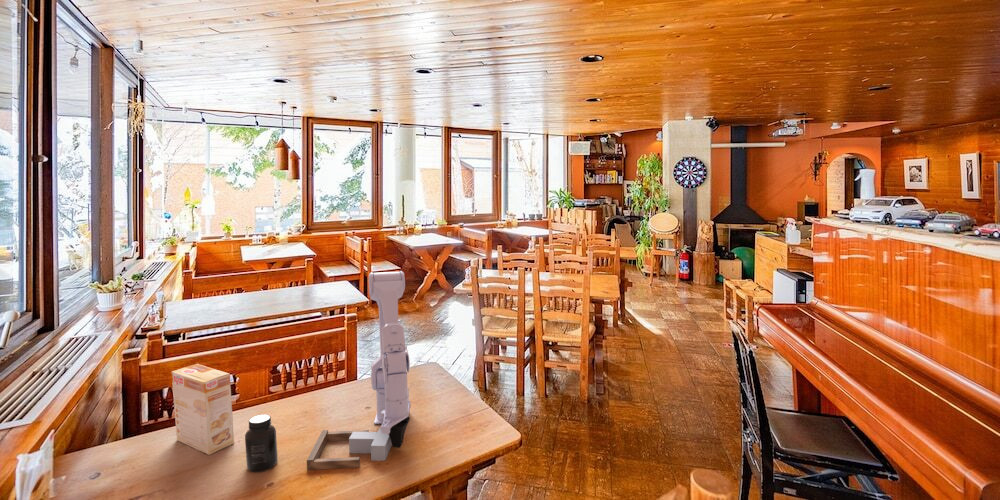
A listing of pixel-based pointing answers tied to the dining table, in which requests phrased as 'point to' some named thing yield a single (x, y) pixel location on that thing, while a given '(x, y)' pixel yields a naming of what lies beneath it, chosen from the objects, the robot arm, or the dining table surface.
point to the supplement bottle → (261, 444)
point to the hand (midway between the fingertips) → (397, 446)
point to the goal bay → (331, 463)
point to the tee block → (370, 444)
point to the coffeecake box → (203, 408)
